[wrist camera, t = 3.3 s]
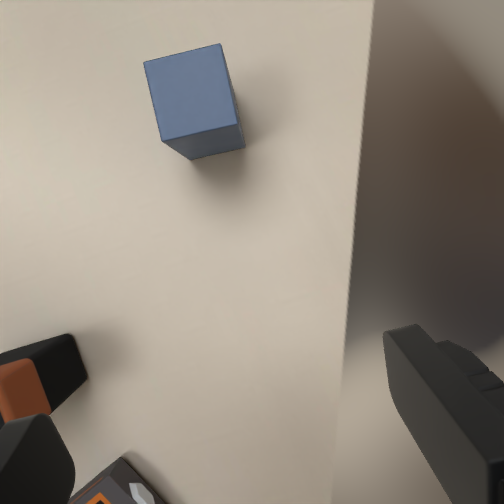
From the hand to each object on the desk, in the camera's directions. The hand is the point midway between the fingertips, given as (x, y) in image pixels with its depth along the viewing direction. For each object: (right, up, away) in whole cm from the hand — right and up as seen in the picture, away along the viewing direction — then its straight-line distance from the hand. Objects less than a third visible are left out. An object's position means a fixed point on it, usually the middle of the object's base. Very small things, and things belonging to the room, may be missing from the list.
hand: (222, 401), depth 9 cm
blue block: (-2, +13, +21) cm, 25 cm away
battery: (-17, -6, +23) cm, 29 cm away
